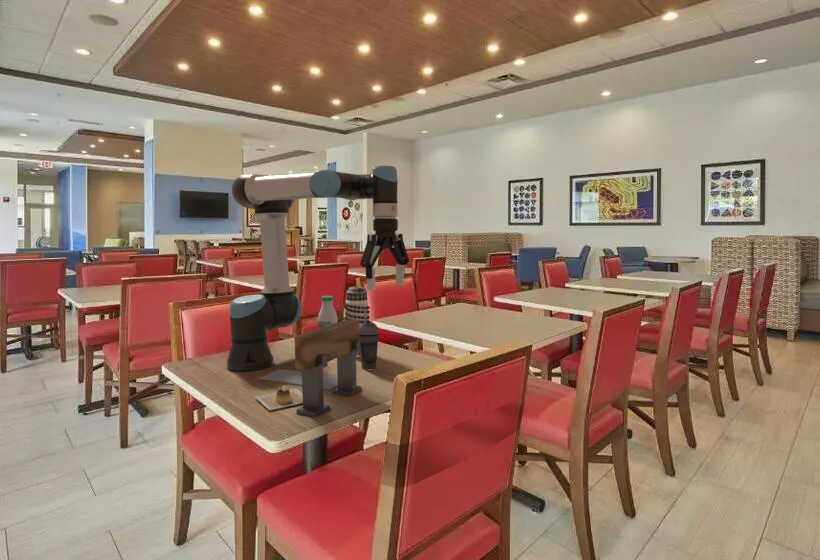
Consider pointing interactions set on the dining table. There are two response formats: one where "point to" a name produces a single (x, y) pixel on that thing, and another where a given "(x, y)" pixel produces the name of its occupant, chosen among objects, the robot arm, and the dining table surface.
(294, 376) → the mat
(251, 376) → the dining table surface
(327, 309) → the milk bottle
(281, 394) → the dessert
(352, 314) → the decorative candle
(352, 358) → the standards
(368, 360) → the beverage cup
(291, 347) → the dining table surface
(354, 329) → the rail
